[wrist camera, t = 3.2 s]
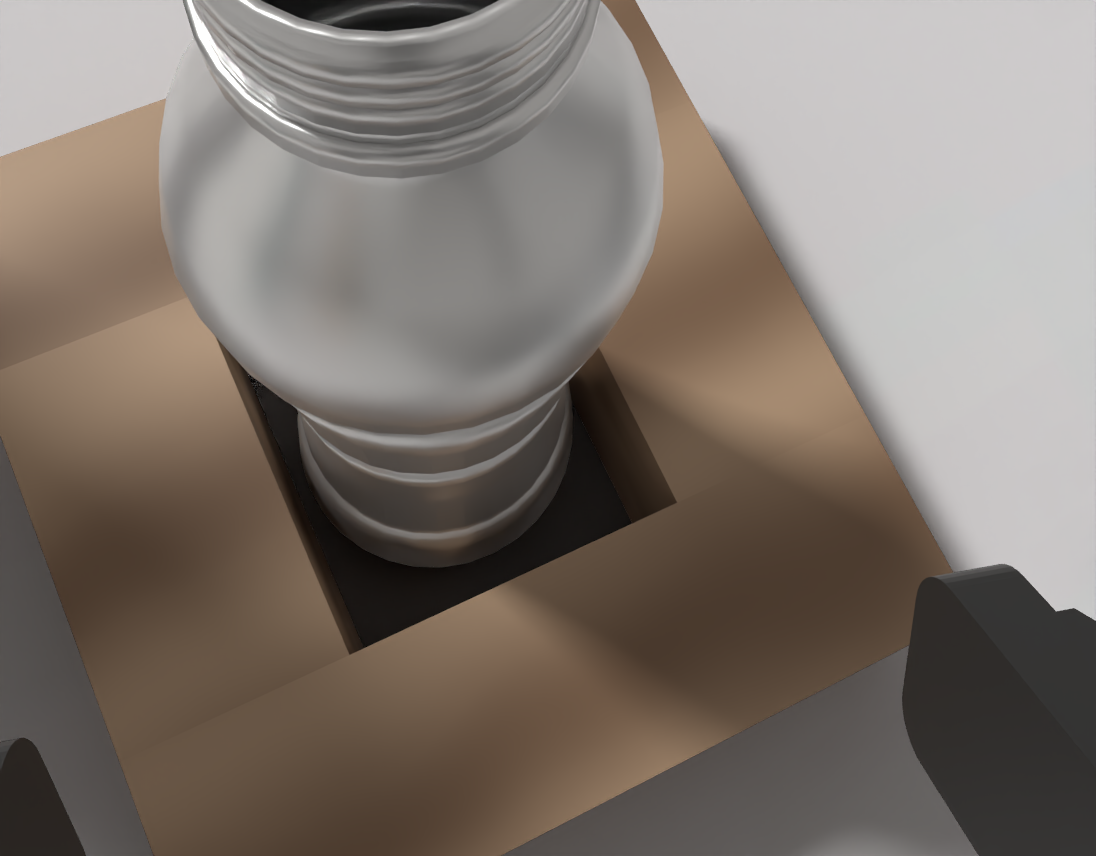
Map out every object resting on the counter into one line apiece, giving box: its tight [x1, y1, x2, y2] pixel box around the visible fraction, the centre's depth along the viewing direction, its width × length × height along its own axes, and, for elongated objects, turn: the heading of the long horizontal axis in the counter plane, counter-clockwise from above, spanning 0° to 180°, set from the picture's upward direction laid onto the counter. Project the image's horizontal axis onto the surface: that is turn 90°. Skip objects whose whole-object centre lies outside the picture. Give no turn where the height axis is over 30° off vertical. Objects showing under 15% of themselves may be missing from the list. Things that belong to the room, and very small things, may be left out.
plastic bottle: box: [159, 0, 664, 567], centre depth 18 cm, size 6×7×20 cm
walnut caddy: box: [0, 0, 953, 856], centre depth 25 cm, size 18×17×5 cm
